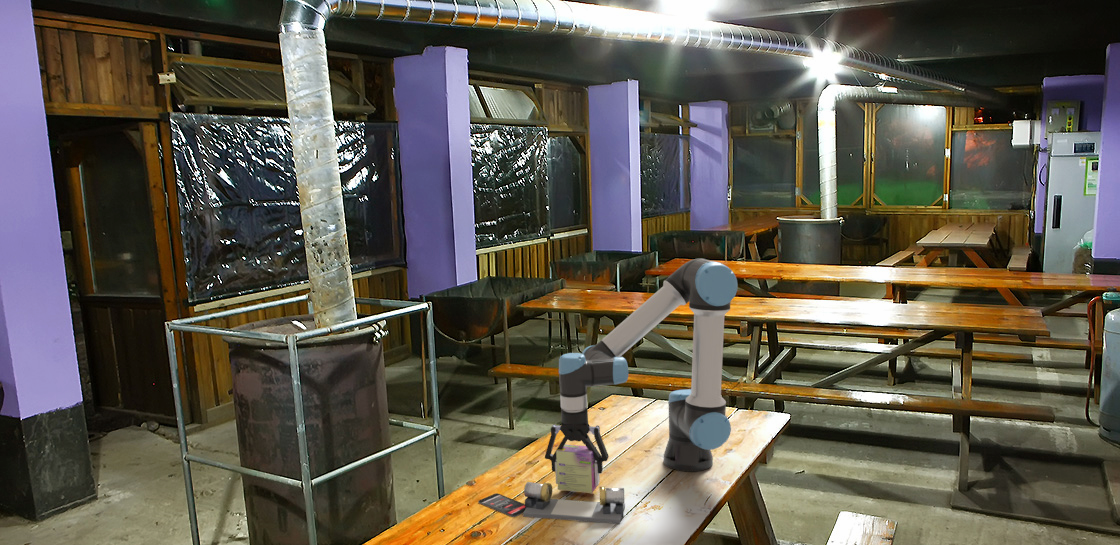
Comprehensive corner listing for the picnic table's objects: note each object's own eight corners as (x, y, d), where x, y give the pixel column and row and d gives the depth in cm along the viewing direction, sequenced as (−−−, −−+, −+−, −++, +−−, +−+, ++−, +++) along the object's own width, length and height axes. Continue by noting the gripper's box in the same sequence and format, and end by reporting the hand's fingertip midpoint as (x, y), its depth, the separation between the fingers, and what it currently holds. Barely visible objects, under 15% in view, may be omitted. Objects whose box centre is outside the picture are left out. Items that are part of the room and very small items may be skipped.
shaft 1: (552, 506, 210) (552, 480, 209) (545, 513, 205) (545, 487, 204) (531, 503, 212) (530, 477, 211) (524, 510, 208) (523, 484, 207)
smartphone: (513, 516, 204) (477, 501, 214) (513, 519, 204) (477, 503, 214) (533, 507, 209) (496, 492, 219) (533, 509, 209) (496, 495, 219)
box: (598, 485, 219) (596, 446, 217) (592, 493, 214) (590, 453, 212) (564, 482, 222) (562, 443, 221) (557, 490, 217) (555, 450, 215)
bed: (624, 507, 208) (624, 503, 208) (619, 523, 198) (619, 519, 198) (532, 500, 214) (532, 497, 214) (523, 516, 204) (523, 512, 204)
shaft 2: (624, 509, 206) (623, 483, 205) (624, 517, 202) (624, 490, 201) (600, 509, 207) (599, 483, 206) (600, 517, 202) (599, 491, 201)
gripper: (616, 405, 216) (620, 479, 219) (537, 403, 221) (541, 476, 224) (612, 413, 209) (616, 490, 211) (531, 411, 214) (535, 486, 217)
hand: (577, 482), depth 218 cm, fingers closed on box, 11 cm apart
